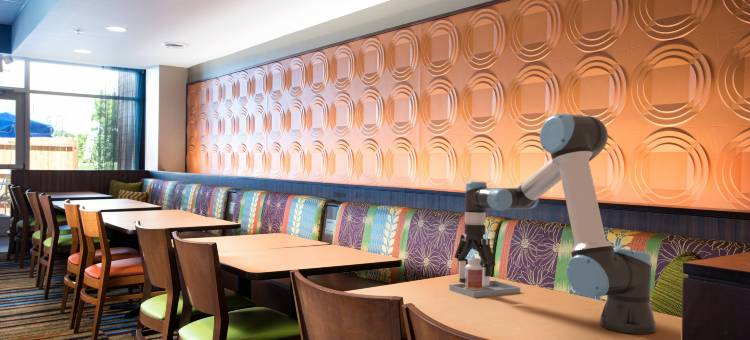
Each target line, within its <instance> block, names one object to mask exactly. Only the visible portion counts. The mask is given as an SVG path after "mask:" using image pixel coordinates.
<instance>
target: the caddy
mask: <svg viewBox="0 0 750 340" xmlns="http://www.w3.org/2000/svg"><path fill="white" fill-rule="evenodd" d="M463 288H465V283H455V284H449V288H448V289H449V291H451V292H454V293H457V294H460V295H463V296H466V297H469V298H473V299H475V298H483V297H484V298H485V297H493V296H501V295H510V294H519V293H521V287H520V286H516V285H514V284H509V283H505V282H501V281H499V280H490V283H489V285H484V286H483V285H482V289H484V291H477V292H473V291H470V290H466V289H463Z"/></svg>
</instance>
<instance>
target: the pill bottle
mask: <svg viewBox="0 0 750 340" xmlns="http://www.w3.org/2000/svg"><path fill="white" fill-rule="evenodd" d="M467 259H468V264H467V265H466V267H465V288H466V289H468V290H481V289H482V266H481V265H480V262H481V258H479V257H478V258H477V257H468V258H467Z"/></svg>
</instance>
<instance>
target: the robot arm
mask: <svg viewBox="0 0 750 340" xmlns="http://www.w3.org/2000/svg"><path fill="white" fill-rule="evenodd" d="M608 139H609V133H608V130H607V126H606V125H605V124H604V122H602V121H601V119H599V118H597V117H595V116H592V115H591V116H590V115H579V114H578V115H577V114H571V113H570V114H569V113H556V114H553V115H550V116H549V117H548V118H547V119H546V120H545V122H544V123H543V126H541V129H540V132H539V141H540V142H539V143H540V145H541V148H542V149H543V150H544V151H546V152H547V153H550V155H551V158H550V159H549V160H548V161H547V162H546V163H545V164H543V166H541V167H540V168H539V169H538V170H536V171H535V172H534V173H533V174H532V175H531V176H530V177H529V178H527V179H526V180H525V181H524V182H522V183H521V184H520V185H518V186H517V187H512V188H511V187H509V188H508V187H507V188H506V187H504V188H502V187H500V188H499V187H487V183H486V181H467V182H466V183H465V192H464V193H465V197H464V198H465V201H464V202H465V203H464V204H465V205H464V223H465V224H464V234H461V235H460V236H459V237H460V238H459V243H458V245H457V248H456V250H455V254H454V258H455V259H456V260H457V261H458V262H457V263H458V266H457V268H458V279H463V278H465V267H466V261H463V260H465V259H467V257H468V254H470V252H471V250H472V249H473V250H475V251H476V252H477V253H478V255H479V257H480V258H479V259H481V260H482V262H483V273H482V285H483V286H484V285H489V283H490V281H491V280H490V278H491V273H492V272H491V270H492V267H495V266H496V262H495V258H494V255H493V251H492V248H491V244H490V242H491V240H490V238H484V235H486V225H485V223H486V216H487V215H486V213H487V209H488V210H493V211H506V210H530V209H534V208H535V207H537V206H538V203H539V202H540V200H539V199H540V197H541V196H543V195H544V194H546V193H547V192H548V191H549V190H550V189H552V188H553V187H554V186H556V185H557V184H558V183H559V182H560V181H561V184H562V188H563V192H564V193H563V194H564V198H565V202H566V209H567V212H568V217H569V223H570V227H571V234H572V237H573V241H574V246H573V247H572V249H571V250H570V254H571V258H570V259H569V260H568V262H567V264H568V265H567V266H566V270H565V271H566V272H565V273H566V277H567V281H568V283H569V285H570V286H571V288H572V289H573V290H574V291H575V292H577V293H578V294H579V295H581V296H584V297H588V298H589V297H591V298H601V297H604V296H607V297H606V298H607V299H606V301H605V303H604V307H603V309H602V312H601V314H600V317H599V319H600V321H599V324H600V326H601V327H603V328H604V329H608V330H611V331H614V332H619V333H624V334H633V335H648V334H653V333H655V332H656V331H657V328H656V327H657V323H656V320H655V317H654V316H655V315H654V313H653V309H652V306H651V278H652V277H651V276H652V274H651V273H652V272H651V271H652V258H651V255H650V254H649V253H648V252H645V251H640V250H633V249H627V248H620V247H614V245H613V244H612V243H610V242H608V241H607V239H606V235H605V230H604V226H603V221H602V216H601V212H600V208H599V203H598V198H597V193H596V189H595V183H594V180H593V175H592V171H591V166H590V162H591V161H592V160H594V159H595V158H596V157H597V156H598V155H600V153H601V152H602V151H603V150H604V149H605V147H606V145H607V142H608Z"/></svg>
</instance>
